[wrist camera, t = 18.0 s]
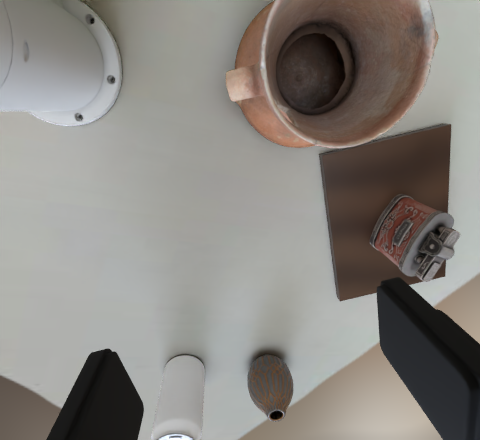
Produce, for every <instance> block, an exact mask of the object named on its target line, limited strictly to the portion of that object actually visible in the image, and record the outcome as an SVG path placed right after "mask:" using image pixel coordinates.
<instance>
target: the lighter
mask: <svg viewBox="0 0 480 440" xmlns="http://www.w3.org/2000/svg"><path fill="white" fill-rule="evenodd" d="M453 224H454V219H453V217H452V216H451V215H450V214H448V213H446V212H443V211H437V210H435V209H433V208H431V207H428V206H426V205H424V204H422V203H419V202H417V201H415V200H413V198H411V197H410V196H407V195H404V194H399V195H397V196H396V197H394V198H393V200H392V201H391V202H390V203H389V205H388V206H387V207H386V208H385V210H384V211H383V213H382V214H381V216H380V217H379V219H378V221H377V223H376V225H375V227H374V230H373V232H372V235H371V238H370V244H371V245H372V246H373V247H374V248H375V249H377V250H379V251H380V252H382V253H383V254H384V255H385V256H386V257H387V258H389V259H390V260H391V261H392V262H393V263H394V264H396V265H397V266H398V267H399V269H400V271H401V272H403V273H404V274H405V275H407V276H410V277H413V276H417V277H418V278H420V279H421V280H422V281H425V282H428V281H430V280H431V279H432V278H433V276H434V275H435V273H436V272H437V270H438V269H439V268H440V266H441V264H442V262H443V261H444V260H448V259H450V258H452V256H453V255H454V249H453V246H454V245H455V243H456V242H457V240H458V239H459V238H460V235H461V234H460V233H459V232H458V231H456V230H454V229H452V226H453Z"/></svg>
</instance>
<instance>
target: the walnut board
mask: <svg viewBox="0 0 480 440" xmlns="http://www.w3.org/2000/svg"><path fill="white" fill-rule="evenodd" d="M450 141H451V124H442V125H438V126H434V127H429V128H425V129H421V130H417V131H413V132H409V133H405V134H401V135H396V136H392V137H388V138H384V139H380V140H376V141H372V142H368V143H364V144H360V145H357V146H353V147H347V148H343V149H339V150H335V151H331V152H326V153H322V154H319V157H320V165H321V173H322V181H323V189H324V197H325V205H326V213H327V221H328V229H329V237H330V245H331V253H332V261H333V269H334V277H335V285H336V293H337V297H338V299H339V300H340V301H343V300H347V299H352V298H356V297H360V296H364V295H368V294H373V293H377V287H378V286H380V284H381V281H383V280H387V279H391V278H396V277H400V278H401V279H402V280H404V281H405V282H406V283H407V284H408V285H411V284H415V283H419V282H423V281H422V280H421V279H420V278H418V277H417V276H413V277H410V276H407V275H405V274H404V273H403V272H401V271H400V269H399V267H398V266H397V265H396V264H394V263H393V262H392V261H391V260H390V259H389V258H387V257H386V256H385V255H384V254H383V253H382V252H380V251H379V250H377V249H375V248H374V247H373V246H372V245H371V244H370V238H371V235H372V232H373V230H374V227H375V225H376V223H377V221H378V219H379V217H380V216H381V214H382V213H383V211H384V210H385V208H386V207H387V206H388V205H389V203H390V202H391V201H392V200H393V198H394V197H396V196H397V195H399V194H404V195H407V196H410V197H411V198H413V200H415V201H417V202H419V203H422V204H424V205H426V206H428V207H431V208H433V209H435V210H437V211H443V212H446V213H448V192H449V166H450ZM445 267H446V260H444V261H443V262H442V264H441V266H440V268H439V269H438V270H437V272H436V273H435V275H434V276H433V278H432V279H436V278H440V277H444V276H445ZM432 279H431V280H432Z"/></svg>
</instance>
